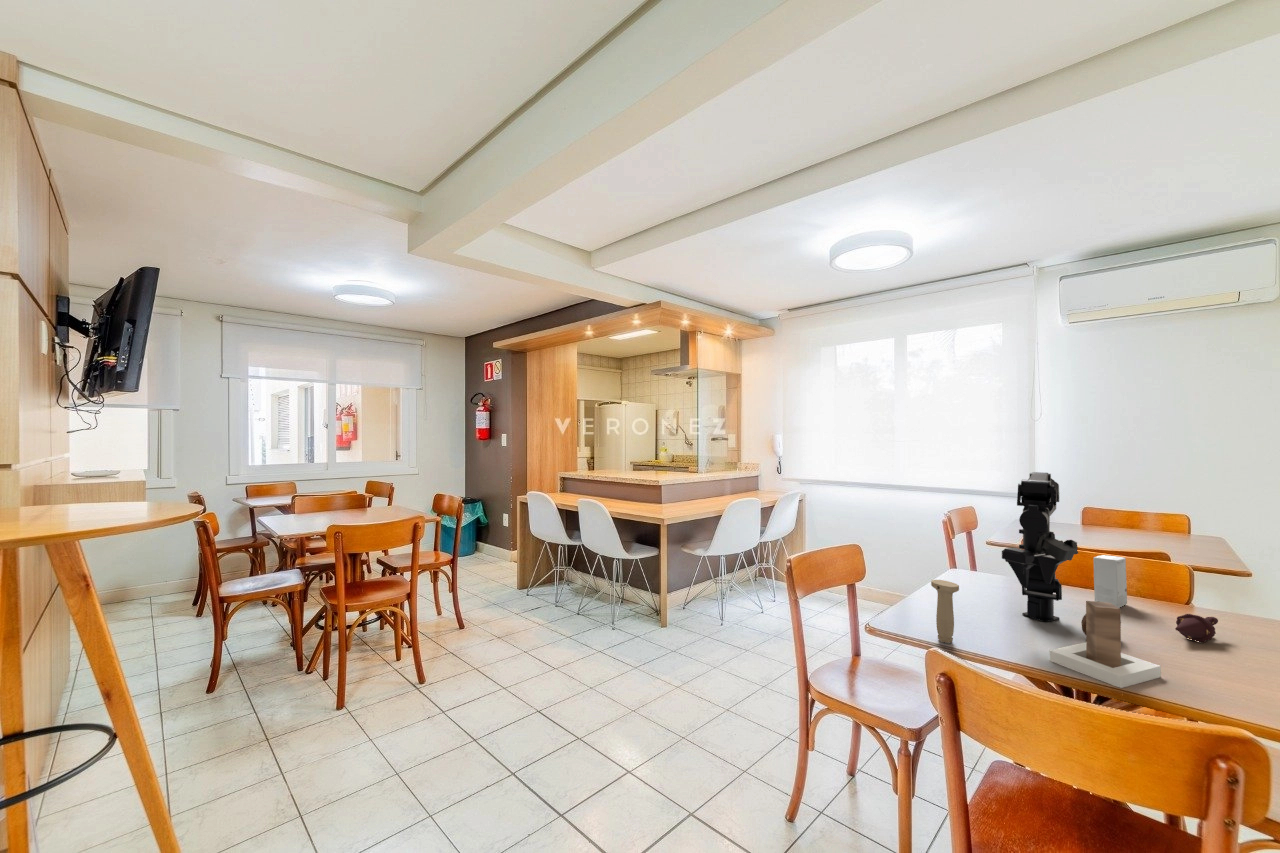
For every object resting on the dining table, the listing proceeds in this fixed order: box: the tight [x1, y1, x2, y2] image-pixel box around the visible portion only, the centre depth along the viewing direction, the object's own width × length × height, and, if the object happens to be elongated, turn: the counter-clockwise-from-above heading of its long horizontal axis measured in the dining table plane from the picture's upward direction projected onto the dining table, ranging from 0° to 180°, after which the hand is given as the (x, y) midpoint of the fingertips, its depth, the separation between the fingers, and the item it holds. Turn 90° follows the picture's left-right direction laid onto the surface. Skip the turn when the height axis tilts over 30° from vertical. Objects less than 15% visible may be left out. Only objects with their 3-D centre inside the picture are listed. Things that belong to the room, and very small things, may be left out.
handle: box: [930, 579, 960, 644], centre depth 136 cm, size 5×6×15 cm
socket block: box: [1049, 641, 1162, 689], centre depth 120 cm, size 14×14×2 cm
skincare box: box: [1093, 554, 1128, 609], centre depth 164 cm, size 8×6×15 cm
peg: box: [1085, 600, 1122, 668], centre depth 120 cm, size 4×4×14 cm
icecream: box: [1174, 613, 1219, 644], centre depth 136 cm, size 7×7×15 cm
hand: (1036, 585), depth 140 cm, fingers open, 9 cm apart
